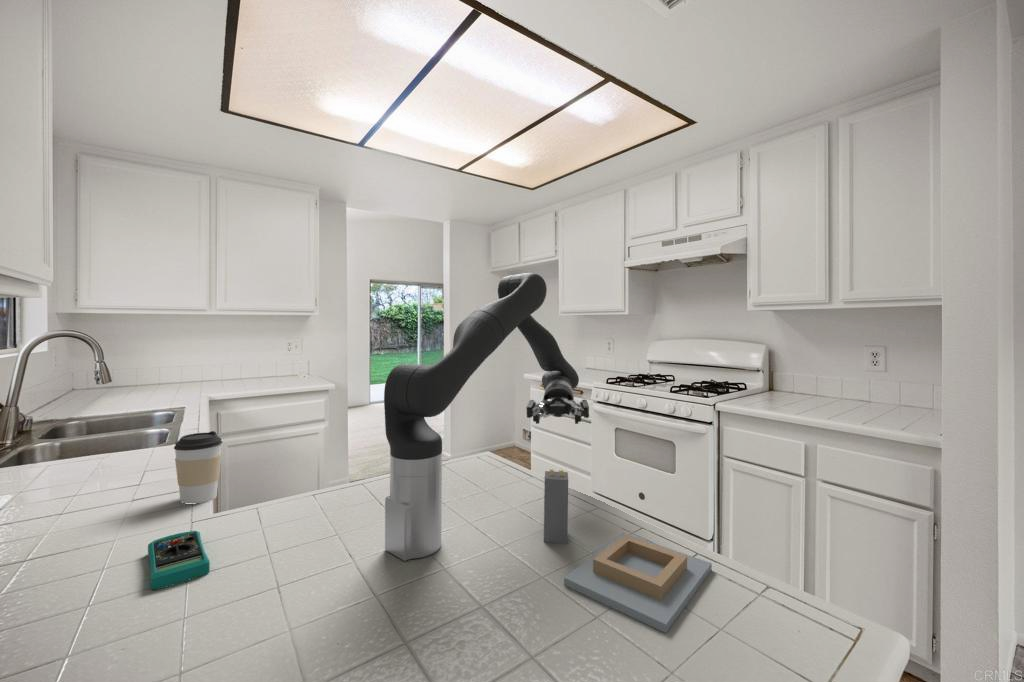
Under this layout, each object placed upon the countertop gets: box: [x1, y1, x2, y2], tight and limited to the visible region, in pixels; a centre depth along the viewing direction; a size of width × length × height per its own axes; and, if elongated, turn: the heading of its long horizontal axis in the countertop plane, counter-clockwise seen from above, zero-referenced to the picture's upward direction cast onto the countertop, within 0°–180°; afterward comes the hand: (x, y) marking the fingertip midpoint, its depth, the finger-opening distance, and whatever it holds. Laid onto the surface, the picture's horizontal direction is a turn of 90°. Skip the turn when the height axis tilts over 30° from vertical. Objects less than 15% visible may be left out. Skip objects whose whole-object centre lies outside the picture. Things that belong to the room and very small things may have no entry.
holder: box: [563, 532, 713, 634], centre depth 69 cm, size 20×16×3 cm
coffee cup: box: [173, 430, 223, 504], centre depth 99 cm, size 9×9×15 cm
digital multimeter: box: [147, 530, 211, 590], centre depth 72 cm, size 7×15×3 cm, turn 42°
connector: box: [543, 469, 569, 544], centre depth 82 cm, size 4×4×13 cm
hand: (556, 419), depth 93 cm, fingers open, 8 cm apart
